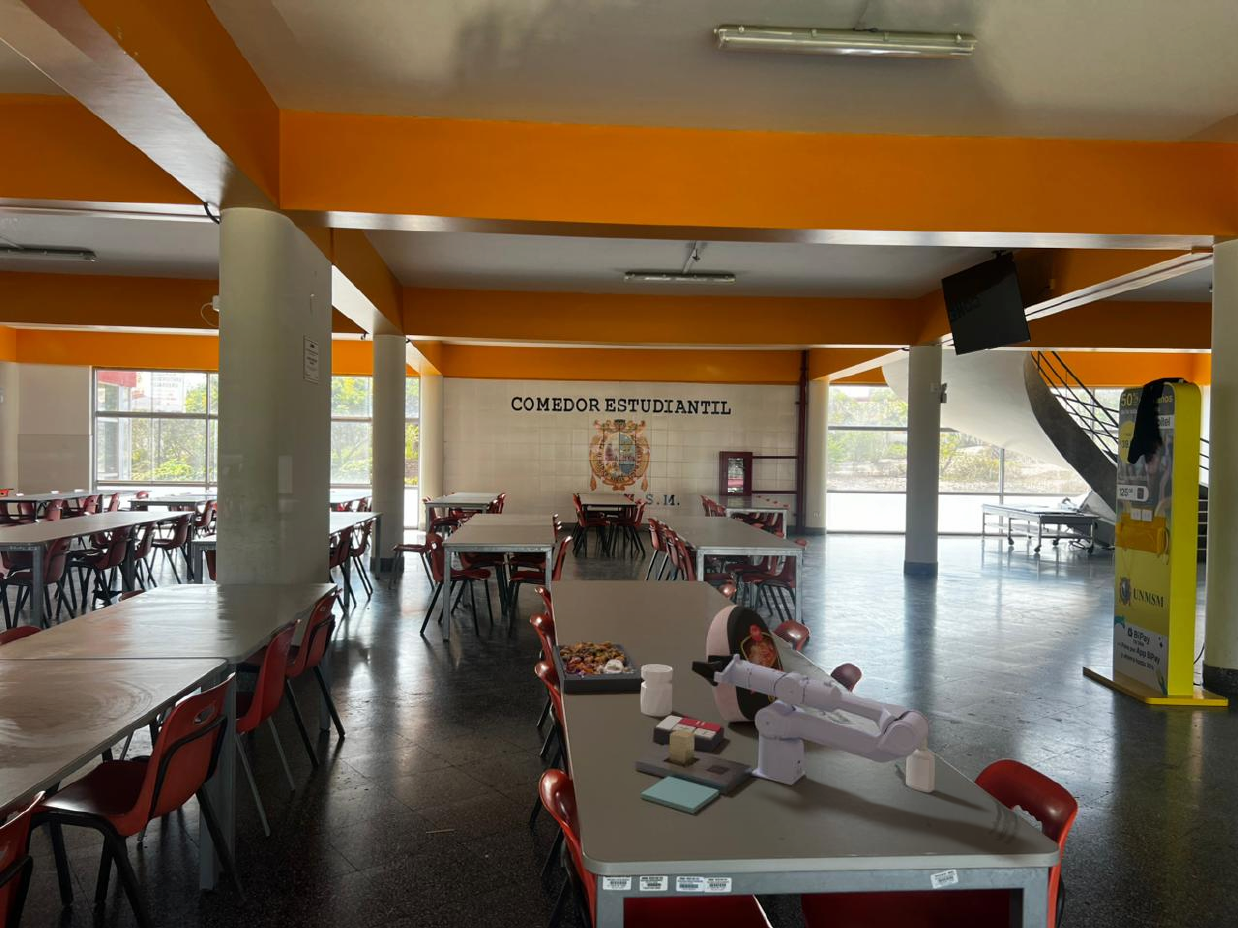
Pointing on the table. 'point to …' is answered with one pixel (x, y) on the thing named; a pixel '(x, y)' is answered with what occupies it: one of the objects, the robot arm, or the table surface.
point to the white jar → (656, 690)
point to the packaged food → (754, 644)
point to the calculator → (704, 732)
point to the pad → (680, 794)
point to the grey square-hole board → (696, 769)
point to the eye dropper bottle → (921, 769)
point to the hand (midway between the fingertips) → (700, 662)
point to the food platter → (596, 668)
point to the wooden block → (682, 748)
